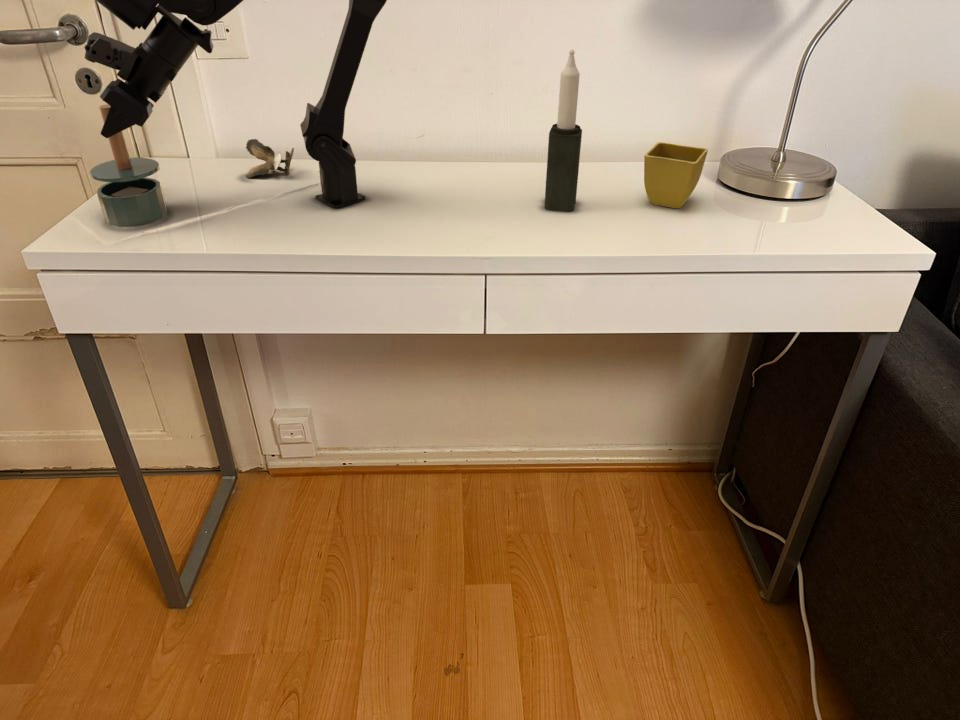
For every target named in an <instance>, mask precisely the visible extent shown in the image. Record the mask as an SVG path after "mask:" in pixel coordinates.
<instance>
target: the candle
mask: <svg viewBox="0 0 960 720" xmlns="http://www.w3.org/2000/svg"><path fill="white" fill-rule="evenodd" d="M568 54H569V55H568V58H567V61H566V63H565V66H564V67H563V69H562V70H561V72H560V77H559V78H560V79H559V93H558V105H557V106H558V107H557V108H558V109H557V122H556V123H554V124H553V125H552V126H551V127H550V130H549V132H548V144H547V145H548V147H547V158H546V159H547V161H546V175H545V191H544V209H545V210H546V211H553V212H562V213H563V212H565V213H570V212H574V211H575V206H576V203H577V193H578V192H577V191H578V183H579V181H578V180H579V170H580V157H581V147H582V138H583V137H582V135H583V129H582V128H581V126H580V125H579V124H576V123H577V110H578V97H579V87H580V84H579V83H580V76H581V75H580V71H579V69H578V67H577V65H576V64H577V63H576V60H575V50H574V49H573V48H572V49H569V51H568Z"/></svg>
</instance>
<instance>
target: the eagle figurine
mask: <svg viewBox="0 0 960 720" xmlns="http://www.w3.org/2000/svg"><path fill="white" fill-rule="evenodd" d="M245 149H246V150H247V152H249V154H250V155H251V156H254V157H255V158H256V159H258V160H260V161H263V162H264V163H261V164H257V165H255V166H253V167H251V168H250V169H249V171H248V172H247V173H246V174H245V178H246V179H251V178H254V177H256V176H259V175H260V176H264V175H266V174H268V173H270V172H275V170H276V171H279V172H282V173H284V174H285V176H290V169H291V163H292V159H293V156H294V151H295V148H294V147H292V148H291V150H290V152H289V151H288V150H285V159H283V155H282V153H281V152H278V153H277V155H275V154H276V153H275V151H274V149H272V148H271V147H270V145H264V143H262V142H260V140H258V139H256V138H251V139H248V141H247V142H246V144H245ZM281 164H284V168H283V167H282V166H280V165H281Z"/></svg>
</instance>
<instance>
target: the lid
mask: <svg viewBox="0 0 960 720" xmlns="http://www.w3.org/2000/svg"><path fill="white" fill-rule="evenodd" d="M98 109H99V110H100V111H99V112H100V114H101V118H102V121H103V124H104V123H105V120H106V117H107V115H108V112H109V109H110V105H109V104H107V103H106V104H102V105H100V106H99V108H98ZM123 131H124V130H123ZM123 131H121V132H119V133H117V134H115V135H113V136H111V137H109V138H107V139H108V142H109V145H110V149H111V152H112V156H113V159H112V160H107V161H104V162H102V163H99V164H97V165H95V166H93V167H92V168H91V169H90V170H89V174H90V177H91V178H92V179H93V180H94V181H98V182H103V183H109V182H129V181H135V180H139V179H142V178H149V177H150V176H153V175H154V174H156V173H157V172H159V170H160V164H159V162H158V161H157V160H155V159H152V158H147V157H130V153H129V150H128V146H127V142H126V139H125V135H124V132H123Z"/></svg>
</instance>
